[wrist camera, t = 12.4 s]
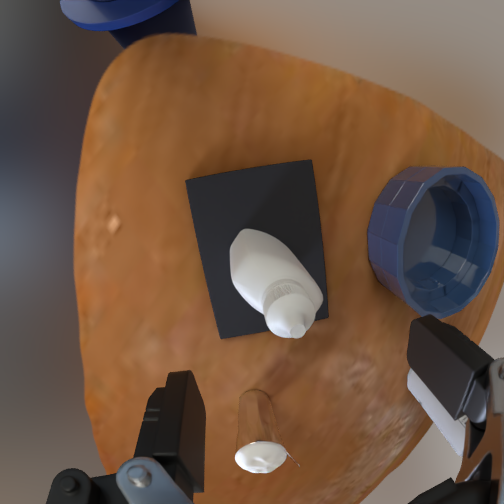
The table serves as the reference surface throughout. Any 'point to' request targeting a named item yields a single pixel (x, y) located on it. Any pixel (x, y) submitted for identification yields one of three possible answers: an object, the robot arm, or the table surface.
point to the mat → (257, 218)
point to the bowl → (434, 237)
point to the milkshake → (258, 435)
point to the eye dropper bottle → (274, 283)
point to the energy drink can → (438, 413)
